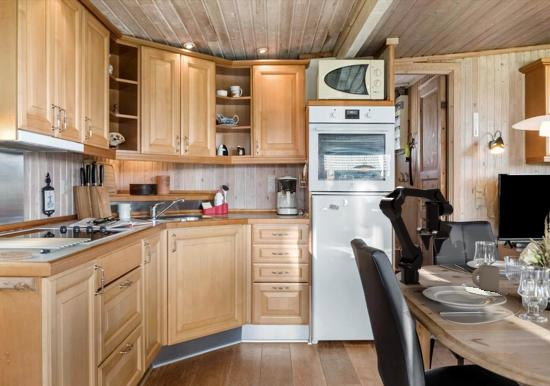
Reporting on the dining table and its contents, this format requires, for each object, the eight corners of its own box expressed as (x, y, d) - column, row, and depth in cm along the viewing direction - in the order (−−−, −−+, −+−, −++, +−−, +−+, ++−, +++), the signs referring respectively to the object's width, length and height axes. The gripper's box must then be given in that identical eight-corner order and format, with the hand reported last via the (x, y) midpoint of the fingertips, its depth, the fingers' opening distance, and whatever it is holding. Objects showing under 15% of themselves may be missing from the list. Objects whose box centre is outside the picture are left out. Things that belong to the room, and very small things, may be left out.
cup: (502, 291, 157) (503, 268, 157) (475, 290, 157) (476, 267, 158) (493, 287, 164) (494, 265, 164) (468, 286, 165) (468, 264, 165)
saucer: (480, 298, 152) (480, 295, 152) (457, 289, 167) (457, 286, 167) (517, 297, 154) (517, 294, 154) (491, 287, 169) (491, 284, 169)
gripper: (461, 217, 173) (461, 254, 174) (438, 214, 192) (438, 248, 192) (436, 218, 172) (436, 255, 172) (415, 215, 190) (416, 249, 191)
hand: (432, 251), depth 182 cm, fingers open, 9 cm apart
